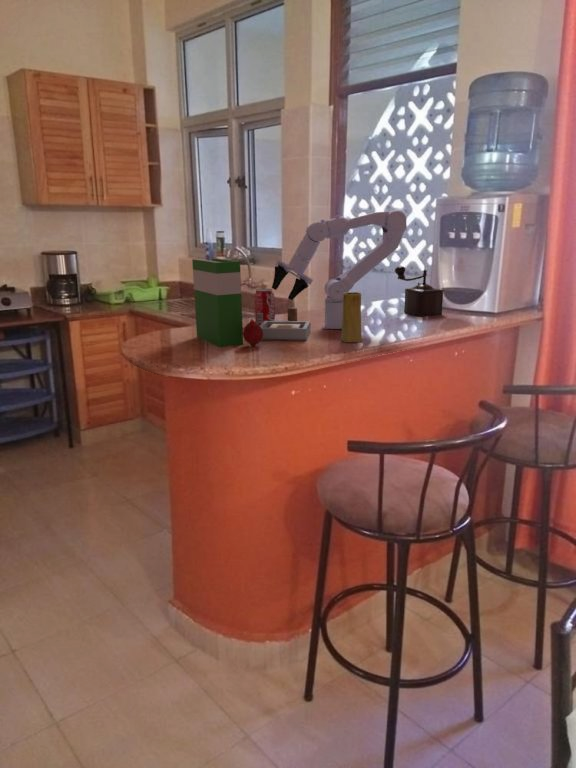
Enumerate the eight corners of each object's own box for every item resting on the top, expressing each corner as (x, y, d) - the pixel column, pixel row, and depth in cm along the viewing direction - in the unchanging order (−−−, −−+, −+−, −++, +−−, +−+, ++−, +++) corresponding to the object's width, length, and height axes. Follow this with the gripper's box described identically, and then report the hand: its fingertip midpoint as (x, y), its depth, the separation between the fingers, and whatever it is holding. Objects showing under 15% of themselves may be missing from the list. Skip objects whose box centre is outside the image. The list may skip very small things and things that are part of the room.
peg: (297, 328, 189) (297, 307, 188) (296, 330, 186) (296, 309, 184) (288, 328, 190) (288, 307, 188) (287, 330, 187) (286, 309, 185)
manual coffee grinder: (424, 310, 221) (427, 264, 216) (442, 314, 211) (445, 266, 206) (391, 314, 215) (392, 265, 210) (407, 318, 205) (410, 268, 200)
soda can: (276, 322, 202) (275, 288, 198) (273, 325, 195) (273, 290, 192) (256, 322, 202) (255, 288, 199) (253, 325, 196) (252, 290, 192)
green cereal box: (197, 337, 178) (192, 259, 171) (218, 334, 181) (214, 258, 175) (220, 347, 163) (216, 262, 157) (243, 344, 167) (240, 261, 160)
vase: (348, 344, 165) (349, 295, 161) (337, 340, 170) (337, 292, 166) (365, 341, 168) (366, 293, 164) (354, 338, 173) (354, 291, 169)
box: (310, 332, 183) (310, 321, 182) (306, 340, 170) (306, 328, 169) (264, 331, 185) (264, 320, 184) (257, 340, 172) (256, 328, 171)
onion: (266, 344, 166) (265, 317, 164) (259, 348, 161) (258, 320, 158) (248, 343, 168) (247, 316, 165) (240, 347, 162) (239, 320, 160)
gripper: (280, 244, 183) (260, 281, 186) (312, 263, 176) (291, 301, 179) (291, 250, 189) (271, 286, 192) (323, 269, 183) (302, 306, 185)
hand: (281, 294), depth 186 cm, fingers open, 7 cm apart
